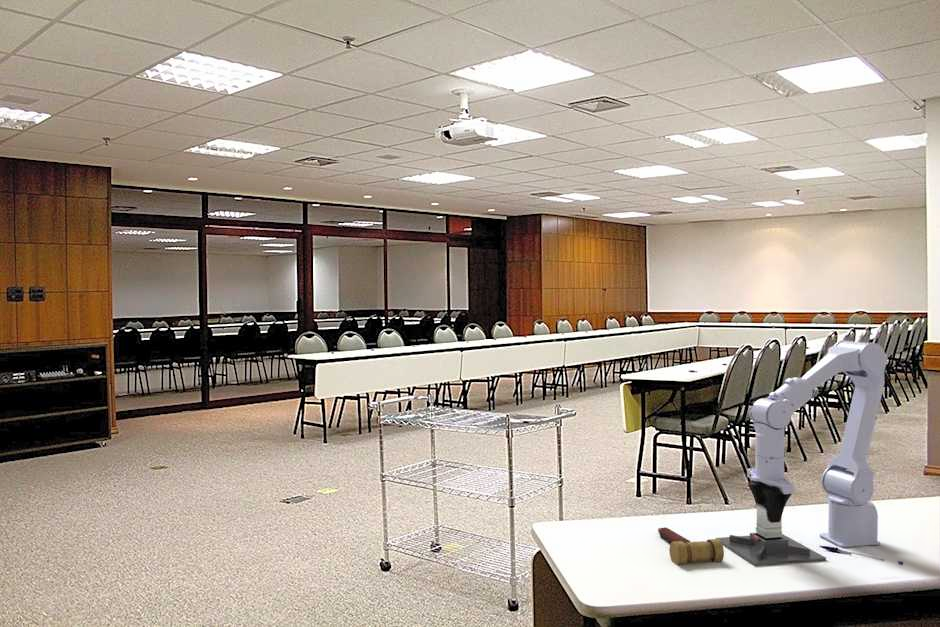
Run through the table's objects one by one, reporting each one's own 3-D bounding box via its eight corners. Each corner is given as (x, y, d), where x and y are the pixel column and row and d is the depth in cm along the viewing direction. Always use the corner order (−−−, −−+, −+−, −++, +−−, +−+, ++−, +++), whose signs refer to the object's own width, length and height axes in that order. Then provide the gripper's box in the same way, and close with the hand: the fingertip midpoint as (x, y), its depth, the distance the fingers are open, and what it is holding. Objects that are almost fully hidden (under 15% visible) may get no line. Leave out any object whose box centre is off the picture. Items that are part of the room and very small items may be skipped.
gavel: (638, 520, 179) (679, 518, 181) (638, 541, 179) (679, 538, 181) (678, 544, 158) (724, 542, 160) (678, 567, 158) (724, 564, 160)
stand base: (781, 535, 177) (781, 522, 177) (826, 560, 161) (826, 546, 161) (715, 540, 174) (715, 527, 174) (754, 566, 158) (754, 551, 158)
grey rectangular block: (772, 531, 170) (772, 502, 169) (782, 537, 166) (782, 507, 166) (755, 532, 169) (756, 503, 169) (765, 538, 165) (766, 508, 165)
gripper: (734, 449, 173) (734, 510, 174) (771, 464, 159) (771, 530, 159) (763, 447, 174) (763, 508, 175) (803, 462, 160) (802, 528, 161)
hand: (769, 518), depth 167 cm, fingers closed on grey rectangular block, 4 cm apart
